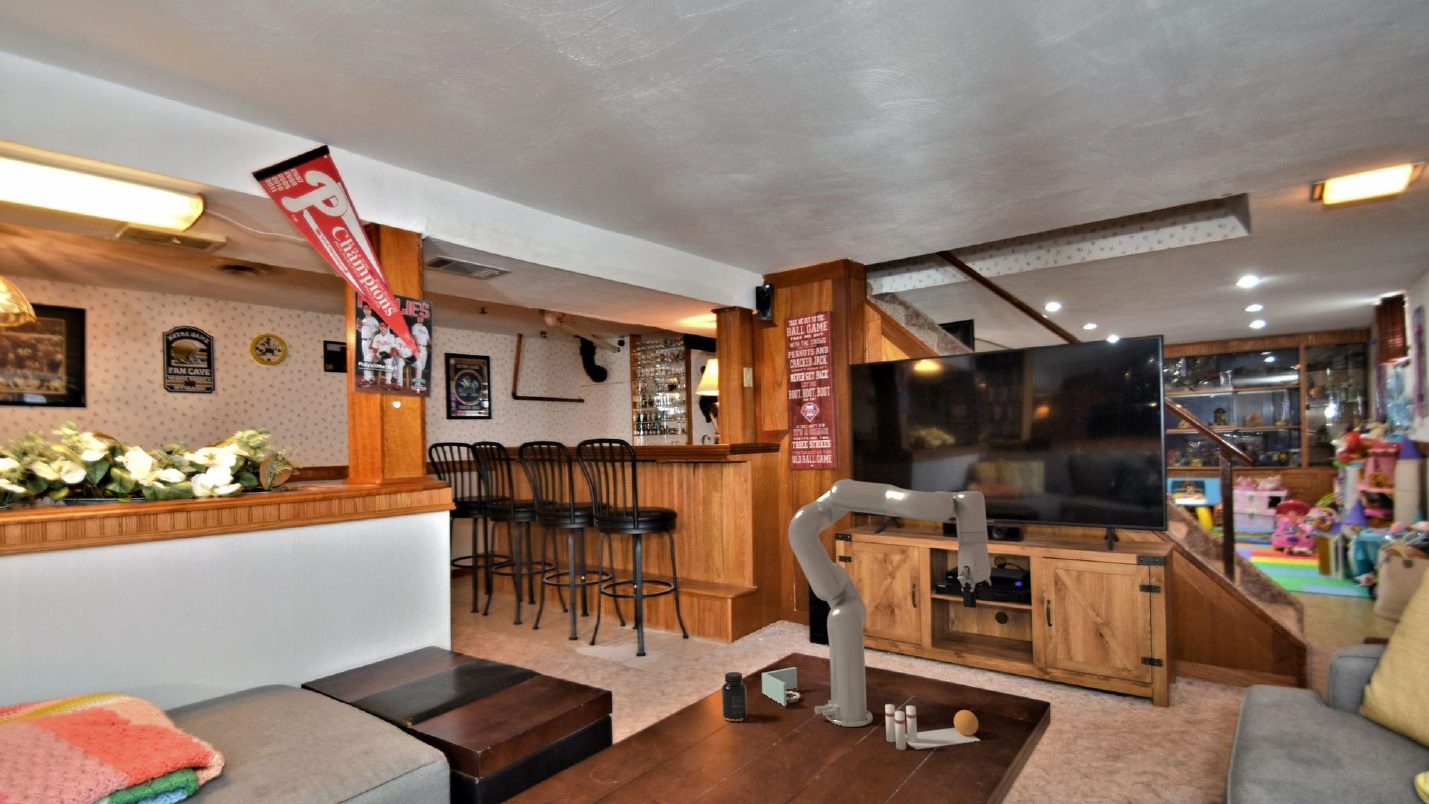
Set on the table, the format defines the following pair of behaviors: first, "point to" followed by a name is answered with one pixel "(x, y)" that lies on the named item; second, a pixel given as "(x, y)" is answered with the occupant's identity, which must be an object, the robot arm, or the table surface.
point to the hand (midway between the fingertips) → (978, 603)
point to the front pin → (911, 724)
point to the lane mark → (941, 738)
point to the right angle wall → (780, 684)
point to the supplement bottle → (734, 696)
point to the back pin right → (900, 730)
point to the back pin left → (890, 722)
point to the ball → (966, 722)
